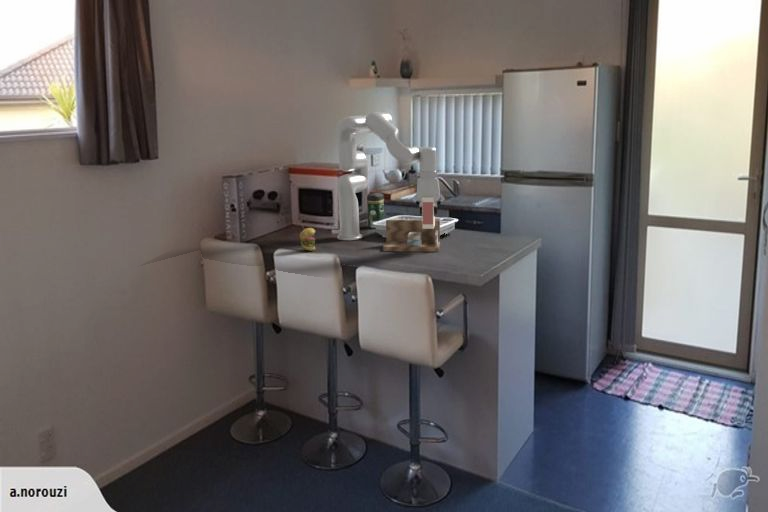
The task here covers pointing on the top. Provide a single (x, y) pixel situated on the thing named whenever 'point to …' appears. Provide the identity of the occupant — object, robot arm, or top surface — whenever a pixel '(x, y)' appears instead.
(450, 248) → the top surface
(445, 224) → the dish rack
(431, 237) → the shelf
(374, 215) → the coffee jar
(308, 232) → the hamburger
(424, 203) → the boxed book
